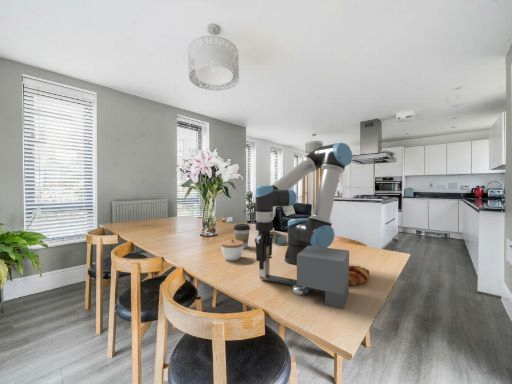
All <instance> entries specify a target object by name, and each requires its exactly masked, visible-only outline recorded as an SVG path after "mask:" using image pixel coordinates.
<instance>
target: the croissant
mask: <svg viewBox="0 0 512 384" xmlns="http://www.w3.org/2000/svg"><path fill="white" fill-rule="evenodd" d="M369 276H370V270H369V269H367V268H365V267H361V266H360V265H349V286H358V285H363V284H364V283H366V282H368V280H369Z"/></svg>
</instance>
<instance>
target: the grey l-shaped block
mask: <svg viewBox="0 0 512 384" xmlns="http://www.w3.org/2000/svg"><path fill="white" fill-rule="evenodd" d="M349 266H350V250H347V249H341V248H332V247H327V248H324V247H316V246H307V247H306V248H305V249H303V250H302V251H301V252H300V253H299V254H297V265H296V280H297V285H299V286H304V287H309V288H311V289H313V290H320V291H324V293H325V294H324V305H325V306H331V307H333V308H334V307H335V308H338V309H343V310H344V309H345V305H346V302H347V299H348V296H349V292H350V291H349V288H350V285H349Z"/></svg>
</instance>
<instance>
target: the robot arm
mask: <svg viewBox="0 0 512 384" xmlns="http://www.w3.org/2000/svg"><path fill="white" fill-rule="evenodd" d="M352 160H353V152H352V149H351V148H350V146H349V145H348V144H347V143H344V142H335V143H333V144H326V145H322V146H318V147H316V148H315V149H313V150H312V151H310V152H309V153H308V154H306V155H305V156H304V157H303V158H302V159H301V161H300V162H299V163H297V165H295V166H294V167H293V168H291V169H290V170H289V171H288V172H287V173H285V174H284V175H282V176H281V177H280V178H279V179H278V180H276V181H275V182H274V183H272V184H271V185H257V186H256V188H255V195H254V196H255V197H254V198H255V221H256V222H255V230H256V231H258V235H257V238H255V239H254V243H255V254H256V255H255V257H256V258H255V259H256V261H257V262H258V265H259V266H258V275H259V277H260V276H262V277H266V261H265V247H266V246H269V259H272V258H273V257H272V255H273V243H272V237H273V234H271V233H270V232H272V231H274V230H273V229H274V222H273V220H274V216H275V215H274V208H275V207H292V206H295V204H296V203H297V200H298V199H297V197H298V196H297V193H296V192H295V191H294V190H293V189H292V188H293V187H295V185H296V184H298V183H299V182H300V181H302V180H303V179H304V178H305V177H307V176H308V175H309V174H310V173H315V171H317V170H318V169H322V173H321V178H320V180H319V181H320V182H319V186H318V191H317V194H316V199H315V202H314V206H313V210H312V214H311V215H310V216H309V217H308V218H291V219H289V220H288V221H287V247H286V251H285V253H284V262H285V263H288V264H291V265H296V266H297V254H299V253H300V252H301V251H302V250H303V249H305V248H306V247H307V246H316V247H324V248H329V247H330V246H331V245H332V244H333V242H334V240H335V231H334V228H333V227H332V226H333V225H332V224H333V223H332V221H331V215H332V210H333V207H334V202H335V197H336V193H337V190H338V189H337V188H338V186H339V180H340V177H341V176H340V175H341V174H343V173H344V172H345V168H346V167H347V166H349V165H350V164H351V163H352Z"/></svg>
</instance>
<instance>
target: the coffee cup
mask: <svg viewBox="0 0 512 384" xmlns="http://www.w3.org/2000/svg"><path fill="white" fill-rule="evenodd" d="M233 230H234V238H235V239H234V240H239V241H242V242H244V245H243V250H245V249H247V248H248V246H249V245H248V244H249V239H250V230H251V226H250V225H249V224H248V223H237V224H235V225H234V227H233Z"/></svg>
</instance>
